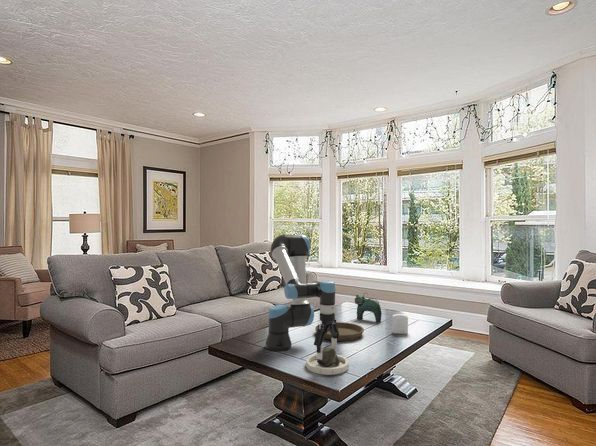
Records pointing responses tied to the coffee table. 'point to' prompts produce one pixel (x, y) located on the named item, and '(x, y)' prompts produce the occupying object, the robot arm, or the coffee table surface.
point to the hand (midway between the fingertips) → (326, 354)
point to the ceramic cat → (368, 307)
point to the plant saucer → (346, 331)
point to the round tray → (332, 370)
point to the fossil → (328, 358)
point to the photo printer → (400, 324)
